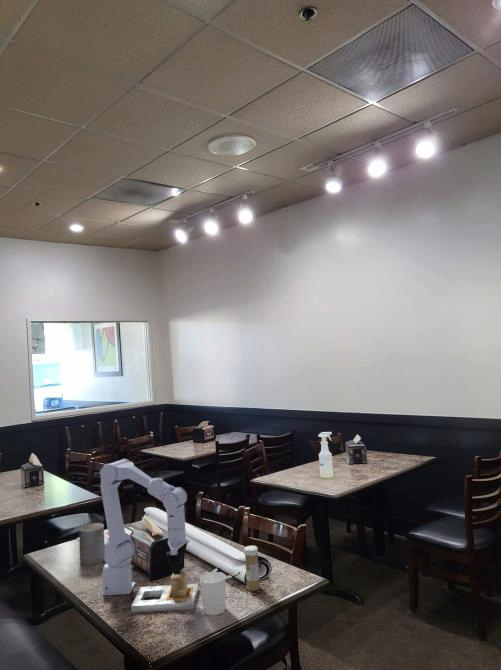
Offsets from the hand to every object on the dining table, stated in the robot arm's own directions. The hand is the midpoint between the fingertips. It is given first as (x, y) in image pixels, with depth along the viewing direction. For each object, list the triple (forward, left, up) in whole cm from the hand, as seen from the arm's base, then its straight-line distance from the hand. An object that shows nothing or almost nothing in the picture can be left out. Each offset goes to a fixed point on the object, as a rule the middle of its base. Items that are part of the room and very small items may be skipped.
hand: (178, 568), depth 160 cm
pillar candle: (-41, +37, -10) cm, 56 cm away
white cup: (+12, -8, -10) cm, 18 cm away
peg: (0, 0, -10) cm, 10 cm away
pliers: (+11, +15, -10) cm, 21 cm away
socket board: (-5, 0, -10) cm, 11 cm away
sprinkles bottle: (+24, +5, -10) cm, 26 cm away
